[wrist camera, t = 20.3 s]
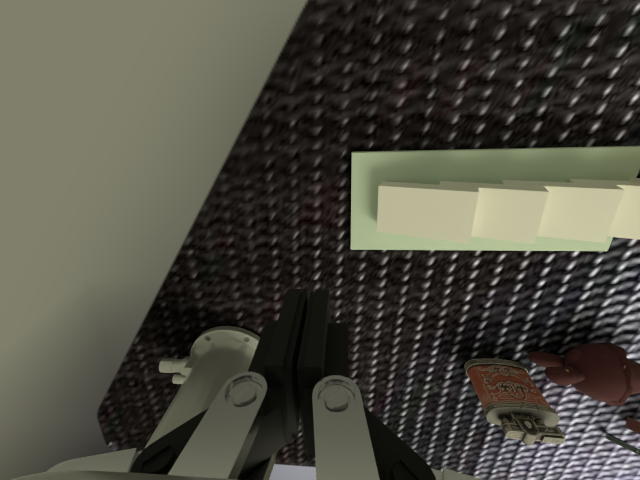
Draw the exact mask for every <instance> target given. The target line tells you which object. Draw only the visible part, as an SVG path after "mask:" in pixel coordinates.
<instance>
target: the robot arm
mask: <svg viewBox="0 0 640 480" xmlns="http://www.w3.org/2000/svg"><path fill="white" fill-rule="evenodd" d="M159 371H160V372H165V373H174V372H180V373H175V374H174V376H173V383H176V384H182V386H181V387H180V389H179V391H178V393H177V394H176V396H175V398H174V399H173V401H172V403H171V404H170V406H169V408H168V410H167V411H166V413H165V415H164V416H163V418H162V420H161V422H160V423H159V425H158V427H157V428H156V430H155V432H154V433H153V435H152V437H151V439H150V440H149V442H148V444H147V445H146V447H145V449H144V450H143V451H140V452H138V450H137V448H134V449H128V450H123V451H117V452H111V453H106V454H100V455H95V456H89V457H83V458H78V459H72V460H68V461H65V462H62V463H59V464H57V465H56V466H54V467H52V468H51V469H49V470H48V471H47V472H45V473H39V474H34V475H28V476H24V477H19V478H15V479H12V480H269V478H270V475H271V472H272V469H273V466H274V464H275V460H276V455H277V454H276V452H277V451H278V450H279V449H280V448H282V447H283V446H284V445H285V443H291V437H292V432H298V428H299V421H300V415H301V426H302V433H304V439H305V446H306V448H307V449H308V450H309V451H310V453H311V454H312V455H313V456H314V458H315V459H316V477H317V480H481V479H478V478H475V477H471V476H468V475H465V474H462V473H458V472H455V471H452V470H448V469H445V468H444V469H443V472H441V471H438V470H435V469H432V468H430V466H429V465H428V464H427V463H426V462H425V461H424V460H423V459H422V458H421V457H420V456H419V455H418V454H417V453H416V452H414V451H413V450H412V449H411V448H410V447H409V446H408V445H407V444H406V443H404V442H403V441H402V440H401V439H400V438H399V437H398V436H397V435H395V434H394V433H393V432H392V431H391V430H390V429H389V428H388V427H387V426H385V425H384V424H383V423H382V422H381V421H380V420H379V419H378V418H377V417H375V416H374V415H373V414H372V413H371V412H370V411H369V410H368V409H367V408H365V407H364V406H363V403H362V398H361V394H360V391H359V388H358V386H357V385H356V384H355V383H354V382H353V381H352V380H350V379H349V378H348V323H330V293H329V290H317V289H316V291H315V293H310V298H309V304H308V301H307V293H302V289H288V291H287V294H286V297H285V300H284V303H283V306H282V309H281V313H280V316H279V319H278V321H267V322H266V324H265V326H264V329H263V331H262V334H261V337H259V336H258V335H256V334H254V333H253V332H250V331H248V330H246V329H243V328H239V327H233V326H219V327H214V328H211V329H209V330H206V331H205V332H203V333H202V334H201V335H200V336H199V337H198V338H197V339H196V341H195V342H194V344H193V346H192V348H191V351H190V356H186V357H184V358H183V359H177V358H163V359H162V360H161V362H160V364H159Z"/></svg>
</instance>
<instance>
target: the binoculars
mask: <svg viewBox="0 0 640 480" xmlns="http://www.w3.org/2000/svg"><path fill="white" fill-rule="evenodd" d="M626 428H628V429H630V430H632V431H634V432H636V433H638V434H640V422H638V421H636V420H634V419H632V418H630V417H627V421H626ZM606 439H608V440H610V441H612V442H614V443H616V444H618V445H620V446H622V447H624V448H626V449H629V450H631V451H633V452H635V453H637V454H639V455H640V450H639V449H637V448H635V447H633V446H631V445H629V444H627V443H625V442H622V441H620V440H618V439H616V438H614V437H612V436H610V435H608V434H607V436H606Z"/></svg>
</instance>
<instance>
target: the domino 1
mask: <svg viewBox="0 0 640 480" xmlns="http://www.w3.org/2000/svg"><path fill="white" fill-rule="evenodd" d="M478 194H479V189H478V187H471V186H454V185H437V184H420V183H403V182H386V181H383V182H382V183H381V184H380V185H379V189H378V213H377V232H382V233H390V234H398V235H406V236H414V237H421V238H429V239H437V240H445V241H453V242H461V243H469V244H470V239H471V233H472V227H473V222H474V216H475V211H476V205H477V199H478Z"/></svg>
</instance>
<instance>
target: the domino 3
mask: <svg viewBox="0 0 640 480" xmlns="http://www.w3.org/2000/svg"><path fill="white" fill-rule="evenodd" d="M501 184H507V185H525V186H543V187H545V188H546V189H547V190H548V191H549V194H548V198H547V201H546V205H545V208H544V212H543V216H542V219H541V223H540V226H539V230H538V234H537V236H540V237H551V238H561V239H571V240H581V241H592V242H602V243H605V241H606V239H607V236H608V233H609V230H610V228H611V225H612V222H613V220H614V217H615V214H616V211H617V209H618V206H619V203H620V200H621V198H622V195H623V192H624V189H622V188H620V187H619V186H617V185H615V184H595V183H570V182H546V181H521V180H502V181H501Z"/></svg>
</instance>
